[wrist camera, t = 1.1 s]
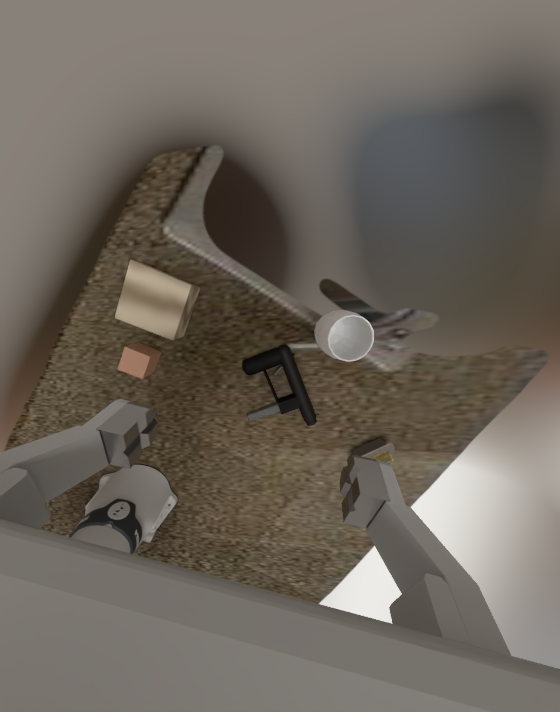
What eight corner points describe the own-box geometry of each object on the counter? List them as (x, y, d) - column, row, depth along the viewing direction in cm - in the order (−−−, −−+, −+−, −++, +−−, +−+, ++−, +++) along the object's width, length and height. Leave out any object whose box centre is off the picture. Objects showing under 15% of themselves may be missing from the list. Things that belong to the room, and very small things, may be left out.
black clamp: (258, 444, 53) (323, 422, 52) (223, 368, 49) (292, 342, 47) (259, 436, 56) (320, 415, 55) (226, 364, 52) (292, 339, 50)
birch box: (184, 336, 49) (173, 340, 43) (133, 316, 47) (114, 317, 42) (200, 287, 47) (191, 285, 41) (148, 265, 45) (130, 259, 40)
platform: (406, 449, 59) (423, 467, 52) (343, 477, 60) (352, 498, 53) (391, 411, 56) (407, 425, 50) (325, 442, 57) (333, 459, 50)
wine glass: (295, 332, 50) (314, 352, 30) (310, 302, 48) (340, 300, 28) (323, 346, 51) (361, 373, 31) (339, 316, 49) (388, 325, 29)
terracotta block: (154, 371, 50) (142, 379, 45) (132, 362, 49) (117, 369, 45) (162, 351, 49) (150, 357, 44) (139, 342, 48) (124, 346, 44)
